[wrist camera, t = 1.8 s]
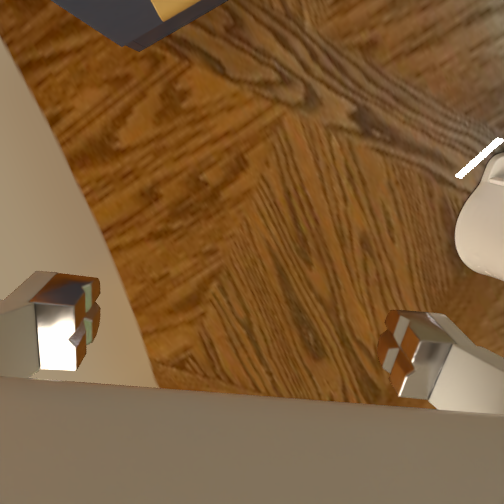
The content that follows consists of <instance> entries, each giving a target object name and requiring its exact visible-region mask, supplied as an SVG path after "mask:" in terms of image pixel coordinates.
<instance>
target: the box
mask: <svg viewBox="0 0 504 504" xmlns="http://www.w3.org/2000/svg"><path fill="white" fill-rule="evenodd" d="M226 1H228V0H201V1H199V2H198V3H196V4H194V5H193V6H191V7H189V8H187V9H186V10H184V11H182V12H181V13H179V14H177V15H176V16H174V17H172V18H170V19H169V20H167V21H165V22H164V23H162V24H160V25H158V26H157V27H155V28H153V29H152V30H150V31H148V32H147V33H145V34H143V35H141V36H140V37H138V38H136V39H135V40H133V41H131V42H130V43H128V44H126V46H128V47H130V48H132V49H134V50H137V51H139V52H140V51H142V50H143V49H145V48H147V47H148V46H150V45H152V44H154V43H155V42H157V41H159V40H161V39H162V38H164V37H166V36H167V35H169V34H171V33H173V32H174V31H176V30H178V29H180V28H181V27H183V26H185V25H186V24H188V23H190V22H192V21H193V20H195V19H197V18H198V17H200V16H202V15H204V14H205V13H207V12H209V11H211V10H212V9H214V8H216V7H217V6H219V5H221V4H223V3H224V2H226Z"/></svg>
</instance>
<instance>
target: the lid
mask: <svg viewBox="0 0 504 504" xmlns="http://www.w3.org/2000/svg"><path fill="white" fill-rule="evenodd" d="M51 1H53V2H54V3H56V4H57V5H59V6H60V7H62V8H64V9H65V10H67V11H68V12H70V13H71V14H73V15H74V16H76V17H77V18H79V19H80V20H82V21H83V22H85V23H86V24H88V25H89V26H91V27H92V28H94V29H95V30H97V31H99V32H100V33H102V34H103V35H105V36H106V37H108V38H109V39H111V40H112V41H114V42H115V43H117V44H118V45H120V46H121V47H123V46H124V45H126V44H128V43H130V42H131V41H133V40H135V39H136V38H138V37H140V36H141V35H143V34H145V33H147V32H148V31H150V30H152V29H153V28H155V27H157V26H158V25H160V24H162V23H164V22H165V21H167V20H169V19H170V18H172V17H174V16H176V15H177V14H179V13H181V12H182V11H184V10H186V9H187V8H189V7H191V6H193V5H194V4H196V3H198V2H199V1H201V0H51Z"/></svg>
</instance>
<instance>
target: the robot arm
mask: <svg viewBox="0 0 504 504" xmlns="http://www.w3.org/2000/svg"><path fill="white" fill-rule="evenodd" d="M502 142H503V140H502V139H501V138H496V139H495V140H494V141H493V142H492V143H491V144H490V145H489V146H488V147H486V148H485V149H484V150H483V151H482V152H481V153H480V154H479V155H478V156H476V157H475V158H474V159H473V160H472V161H471V162H470V163H469V164H468V165H466V166H465V167H464V168H463V169H462V170H461V171H460V172H459V173H458V174H456V175H455V176H456V177H457V178H460V179H461V178H462V177H463V176H465V175H466V174H467V173H468V172H469V171H470V170H471V169H472V168H474V167H475V166H476V165H477V164H478V163H479V162H480V161H481V160H482V159H484V158H485V157H486V156H487V155H488V154H489V153H490V152H491V151H493V150H494V149H495V148H496V147H497V146H498V145H499V144H500V143H502ZM455 244H456V249H457V252H458V254H459V256H460V258H461V259H462V261H463V262H464V263H465V264H466V265H467V266H468V267H469V268H470V269H472V270H474V271H475V272H478V273H480V274H484V275H488V276H491V277H494V278H497V279H500V280H503V281H504V152H503V153H499V154H497V155H495V156H493V157H492V158H491V159H490V161H489V162H488V164H487V166H486V169H485V171H484V174H483V177H482V180H481V182H480V184H479V185H478V187H477V188H476V190H475V191H474V192H473V193H472V195H471V196H470V197H469V198H468V200H467V201H466V203H465V205H464V206H463V208H462V210H461V212H460V215H459V217H458V220H457V224H456V229H455ZM99 294H100V281H99V279H98V278H94V277H86V276H77V275H69V274H61V273H57V272H43V271H36V272H35V273H34V274H32V275H31V276H30V277H29V278H28V279H27V280H26V281H24V282H23V283H22V284H21V285H20V286H19V287H18V288H17V289H15V290H14V292H12V293H11V294H10V295H9V296H8V297H6V299H4V300H0V504H504V358H503V357H501V356H499V355H497V354H495V353H493V352H491V351H489V350H487V349H485V348H483V347H479V346H476V345H475V344H474V343H473V342H472V341H471V340H470V339H469V338H468V337H467V336H466V335H465V334H464V333H463V332H462V331H461V330H460V329H459V328H458V327H457V326H456V325H455V324H454V323H453V322H452V321H451V320H450V319H449V318H448V317H447V316H446V315H443V314H441V313H428V312H417V311H405V310H390V312H389V313H388V315H387V317H386V320H385V325H386V327H387V330H386V331H385V332H384V333H383V334H381V335H380V338H379V341H378V345H377V356H378V360H379V362H380V364H381V366H382V368H383V369H385V370H386V371H387V372H389V373H390V376H389V381H390V382H391V384H392V386H393V388H394V389H395V391H396V393H397V395H398V396H399V397H407V398H416V399H425V400H429V402H430V403H431V404H432V405H433V406H435V407H436V408H437V409H425V408H412V407H399V406H386V405H373V404H360V403H346V402H333V401H320V400H307V399H294V398H281V397H268V396H255V395H242V394H229V393H216V392H203V391H190V390H177V389H164V388H149V387H137V386H124V385H111V384H98V383H85V382H71V381H58V380H46V379H33V378H29V377H30V376H32V375H33V374H35V373H36V372H38V371H39V369H51V370H69V371H70V370H71V371H77V369H78V367H79V365H80V364H81V362H82V360H83V358H84V357H85V355H86V345H88V344H90V343H92V342H93V340H94V338H95V336H96V334H97V331H98V327H99V322H100V307H99V306H98V304H97V303H96V302H95V301H96V299H97V298H98V296H99Z"/></svg>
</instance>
